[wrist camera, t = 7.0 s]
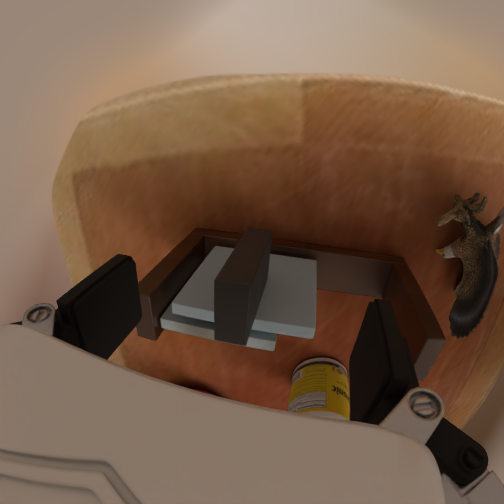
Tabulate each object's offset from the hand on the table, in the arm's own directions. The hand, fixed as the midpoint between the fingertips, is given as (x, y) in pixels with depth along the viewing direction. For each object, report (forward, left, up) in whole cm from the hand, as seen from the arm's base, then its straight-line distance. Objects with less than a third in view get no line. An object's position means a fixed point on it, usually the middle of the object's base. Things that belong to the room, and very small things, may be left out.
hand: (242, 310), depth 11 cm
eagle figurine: (-14, 0, -11) cm, 18 cm away
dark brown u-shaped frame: (-2, +3, -11) cm, 12 cm away
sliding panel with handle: (0, +1, -10) cm, 10 cm away
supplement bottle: (-6, +15, -11) cm, 19 cm away
